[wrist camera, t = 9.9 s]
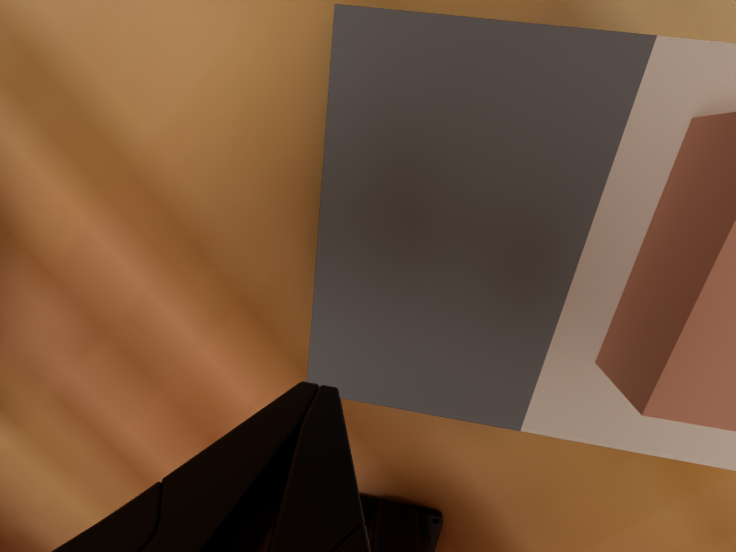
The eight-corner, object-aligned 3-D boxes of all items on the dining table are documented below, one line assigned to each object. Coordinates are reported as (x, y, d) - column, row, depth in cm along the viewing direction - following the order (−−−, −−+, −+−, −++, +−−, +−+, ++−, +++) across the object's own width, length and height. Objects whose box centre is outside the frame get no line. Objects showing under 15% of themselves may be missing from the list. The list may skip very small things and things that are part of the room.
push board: (793, 469, 20) (812, 484, 19) (310, 381, 22) (306, 391, 21) (1072, 86, 13) (1122, 81, 12) (339, 13, 15) (334, 4, 15)
